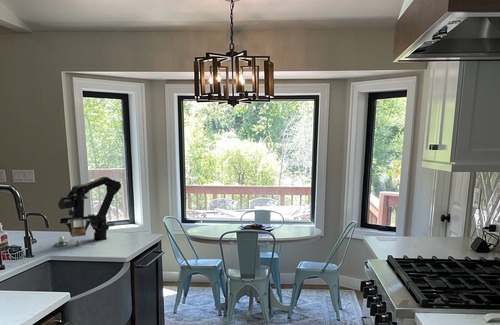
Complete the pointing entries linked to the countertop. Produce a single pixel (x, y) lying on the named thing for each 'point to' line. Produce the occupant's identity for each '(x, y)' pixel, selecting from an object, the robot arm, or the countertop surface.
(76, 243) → the grey metal cylinder
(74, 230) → the wooden square frame
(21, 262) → the countertop surface
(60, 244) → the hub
